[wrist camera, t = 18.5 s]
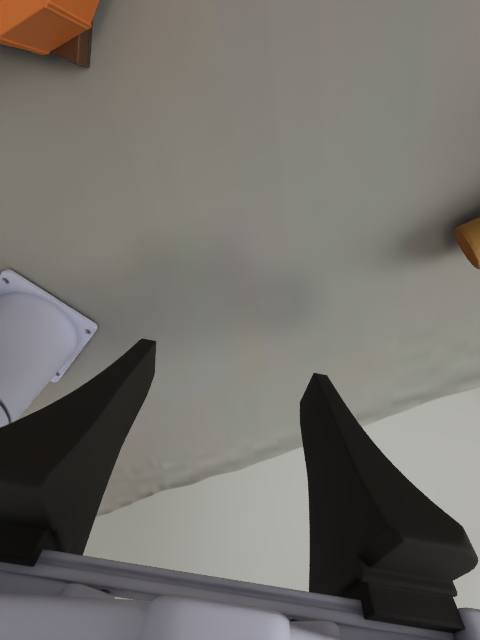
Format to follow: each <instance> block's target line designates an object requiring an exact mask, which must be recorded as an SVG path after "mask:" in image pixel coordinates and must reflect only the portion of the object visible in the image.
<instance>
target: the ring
mask: <svg viewBox="0 0 480 640" xmlns="http://www.w3.org/2000/svg"><path fill="white" fill-rule="evenodd" d="M99 1H100V0H0V45H5V46H9V47H14V48H19V49H23V50H28V51H31V52H34V53H38V54H41V55H46V54H47V55H48V54H49V52H51V51H52V50H54V49H56V48H57V47H59V46H61V45H62V44H64V43H66V42H67V41H69V40H71V39H72V38H74V37H76V36H77V35H79V34H81V33H82V32H84V31H86V30H89V28H91V27H92V25H91V22H92V20H93V17H94V14H95V12H96V9H97V6H98V4H99Z"/></svg>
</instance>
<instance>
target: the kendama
mask: <svg viewBox="0 0 480 640" xmlns="http://www.w3.org/2000/svg"><path fill="white" fill-rule="evenodd" d="M454 233H455V237H456V239H457V241H458V244H459V246H460V248H461V249H462V251H463V253H464V254H465V256H466V257H467V259H468V260H469V261H470V263H471V264H472V265H473V266H474V267H476V268H477V269H480V217H479V218H477V219H474V220H472V221H470V222H467V223H465V224H462V225H460V226H458V227H456V228H455V230H454Z"/></svg>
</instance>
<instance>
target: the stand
mask: <svg viewBox="0 0 480 640" xmlns="http://www.w3.org/2000/svg"><path fill="white" fill-rule="evenodd" d="M92 24H93V20H92V22H91V25H92ZM91 38H92V27H91V28H89V30H86V31H84V32H82V33H81V34H79V35H77V36H76V37H74V38H72V39H71V40H69V41H67V42H66V43H64V44H62V45H61V46H59V47H57V48H56V49H54V50H52V51H51V53H53V54H55V55H57V56H60V57H62V58H64V59H66V60H68V61H70V62H73V63H75V64H77V65H80V66H83V67H87V68H89V66H90V52H91Z"/></svg>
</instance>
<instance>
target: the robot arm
mask: <svg viewBox="0 0 480 640" xmlns="http://www.w3.org/2000/svg"><path fill="white" fill-rule="evenodd" d="M6 279H7V280H8V281H7V280H6ZM97 328H98V326H97V325H96V323H94V322H93V321H91V320H90V319H88V318H86V317H85V316H83V315H82V314H80V313H79V312H77V311H75V310H74V309H72V308H71V307H69V306H68V305H66V304H64V303H63V302H61V301H60V300H58V299H56V298H55V297H53V296H52V295H50V294H49V293H47V292H45V291H44V290H42V289H41V288H39V287H38V286H36V285H34V284H33V283H31V282H30V281H28V280H27V279H25V278H23V277H22V276H20V275H19V274H17V273H16V272H14V271H12V270H10V269H6V270H4V271H2V272H1V275H0V640H480V610H479V609H473V608H459V609H457V606H456V604H455V602H454V599H453V597H455V596H457V591H456V588H455V586H454V584H453V580H455V579H457V578H459V577H460V576H462V575H464V574H466V573H468V572H470V571H471V570H472V569H474V568H475V566H476V565H477V563H478V557H477V555H476V553H475V551H474V549H473V547H472V545H471V543H470V541H469V538H468V536H467V535H466V532H465V530H464V529H463V527H462V526H461V525H460V524H459V523H458V522H456V521H455V520H454V519H453V518H451V517H450V516H449V515H448V514H446V513H445V512H444V511H443V510H442V509H440V508H439V507H438V506H437V505H435V504H434V503H433V502H432V501H431V500H430V499H428V497H426V496H425V495H424V494H423V493H422V492H421V491H420V490H419V489H417V488H416V487H415V486H414V485H413V484H412V483H411V482H410V481H409V480H408V479H407V478H406V477H405V476H404V475H403V474H402V473H401V472H400V471H399V470H398V469H397V468H396V467H395V466H394V465H393V464H392V463H391V462H390V461H389V460H388V459H387V458H386V456H385V455H384V454H383V453H382V452H381V451H380V449H379V448H378V447H377V446H376V445H375V444H374V443H373V441H372V440H371V439H370V438H369V436H368V435H367V434H366V432H365V431H364V430H363V428H362V427H361V426H360V424H359V423H358V422H357V420H356V419H355V418H354V416H353V415H352V413H351V412H350V410H349V409H348V407H347V406H346V404H345V403H344V401H343V400H342V398H341V397H340V395H339V394H338V392H337V390H336V389H335V387H334V386H333V384H332V383H331V381H330V379H329V378H328V376H327V375H322V374H317V373H314V374H313V376H312V378H311V380H310V382H309V384H308V386H307V389H306V391H305V393H304V395H303V397H302V399H301V401H300V426H301V434H302V441H303V448H304V454H305V461H306V468H307V476H308V491H309V520H310V574H309V592H306V591H298V590H293V589H286V588H281V587H275V586H268V585H262V584H256V583H250V582H243V581H237V580H231V579H225V578H219V577H212V576H206V575H200V574H194V573H188V572H182V571H175V570H169V569H163V568H157V567H151V566H144V565H138V564H132V563H126V562H119V561H113V560H107V559H101V558H95V557H88V556H83V552H84V550H85V547H86V544H87V540H88V538H89V534H90V532H91V529H92V526H93V523H94V520H95V517H96V514H97V511H98V509H99V506H100V503H101V500H102V497H103V494H104V492H105V489H106V486H107V484H108V481H109V478H110V476H111V473H112V470H113V468H114V465H115V462H116V460H117V457H118V455H119V452H120V449H121V447H122V445H123V443H124V440H125V438H126V436H127V434H128V432H129V430H130V428H131V426H132V424H133V422H134V420H135V418H136V416H137V414H138V412H139V410H140V408H141V406H142V404H143V402H144V400H145V398H146V396H147V394H148V391H149V388H150V386H151V383H152V380H153V377H154V374H155V355H156V341H152V340H147V339H141V340H139V341H138V342H137V343H136V344H135V345H134V346H133V347H132V348H131V349H129V350H128V351H127V352H126V353H125V354H124V355H122V356H121V357H120V358H119V359H118V360H116V361H115V362H114V363H113V364H111V365H110V366H109V367H108V368H106V369H105V370H104V371H102V372H101V373H100V374H98V375H97V376H95V377H94V378H93V379H91V380H90V381H88V382H87V383H85V384H84V385H82V386H81V387H79V388H78V389H76V390H74V391H73V392H71V393H70V394H68V395H66V396H64V397H63V398H61V399H59V400H57V401H56V402H54V403H52V404H50V405H48V406H46V407H44V408H42V409H40V410H38V411H36V412H34V413H32V414H30V415H28V416H26V417H23V418H21V419H19V418H20V416H21V415H22V414H23V413H24V412H25V410H26V409H27V408H28V407H29V406H30V404H31V403H32V402H33V401H34V399H35V398H36V397H37V396H38V395H39V393H40V392H41V391H42V390H43V389H44V387H45V386H46V385H47V384H48V383H49V381H51V382H58V381H59V380H60V378H61V377H62V376H63V374H64V373H65V372H66V370H67V369H68V368H69V366H70V365H71V364H72V362H73V361H74V360H75V358H76V357H77V356H78V354H79V353H80V352H81V350H82V349H83V348H84V346H85V345H86V344H87V342H88V341H89V340H90V338H91V337H92V336H93V334H94V333H95V332H96V330H97ZM87 329H88V330H89V331H88V330H87ZM18 419H19V420H18ZM114 596H115V597H121V598H128V599H134V600H124V599H115V598H114Z"/></svg>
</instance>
